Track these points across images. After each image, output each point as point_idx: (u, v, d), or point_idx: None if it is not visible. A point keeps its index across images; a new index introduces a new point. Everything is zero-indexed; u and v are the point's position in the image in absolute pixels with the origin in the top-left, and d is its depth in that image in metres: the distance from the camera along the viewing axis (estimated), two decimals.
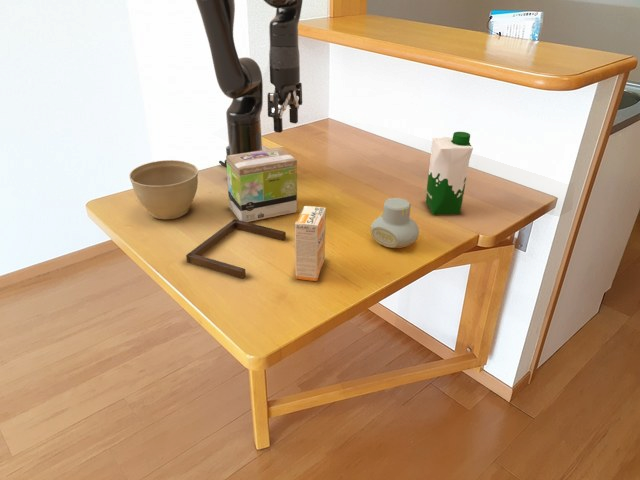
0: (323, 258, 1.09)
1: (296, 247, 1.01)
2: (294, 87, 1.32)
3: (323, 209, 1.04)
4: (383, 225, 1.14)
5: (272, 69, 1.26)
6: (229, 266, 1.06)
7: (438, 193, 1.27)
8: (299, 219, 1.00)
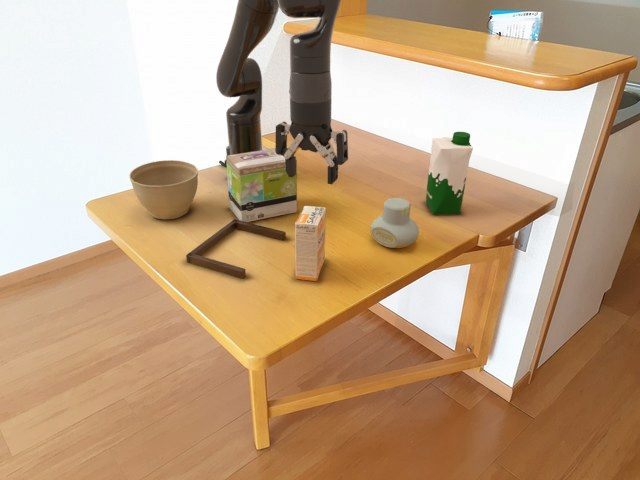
0: (323, 258, 1.09)
1: (296, 247, 1.01)
2: (322, 133, 0.93)
3: (323, 209, 1.04)
4: (383, 225, 1.14)
5: None
6: (229, 266, 1.06)
7: (438, 193, 1.27)
8: (299, 219, 1.00)
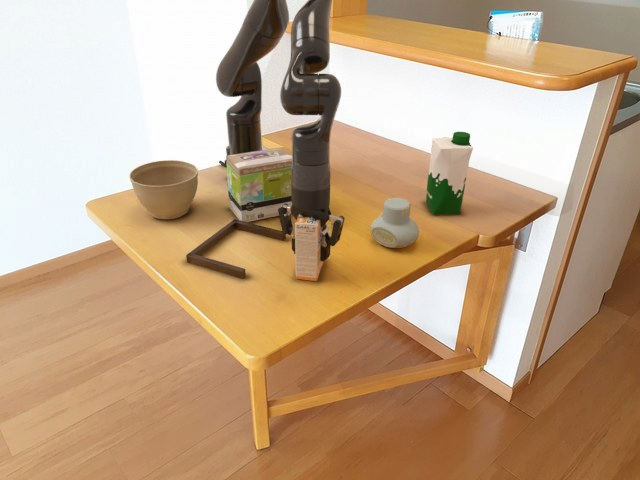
0: None
1: (296, 247, 1.01)
2: (322, 216, 0.99)
3: None
4: (383, 225, 1.14)
5: None
6: (229, 266, 1.06)
7: (438, 193, 1.27)
8: (299, 219, 1.00)
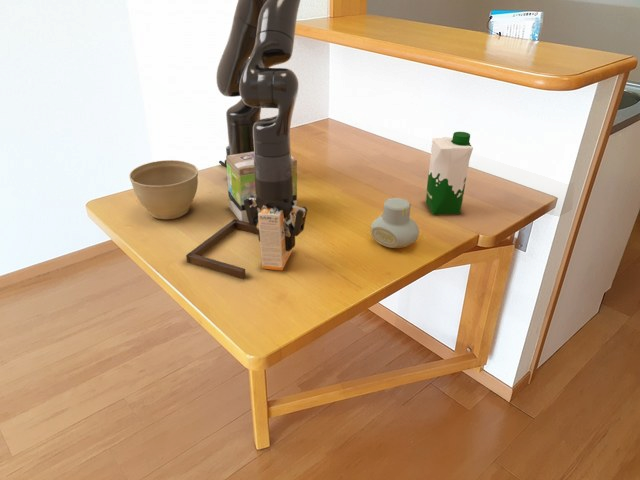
0: None
1: (260, 237, 1.04)
2: (285, 206, 1.02)
3: None
4: (383, 225, 1.14)
5: None
6: (229, 266, 1.06)
7: (438, 193, 1.27)
8: (263, 210, 1.03)
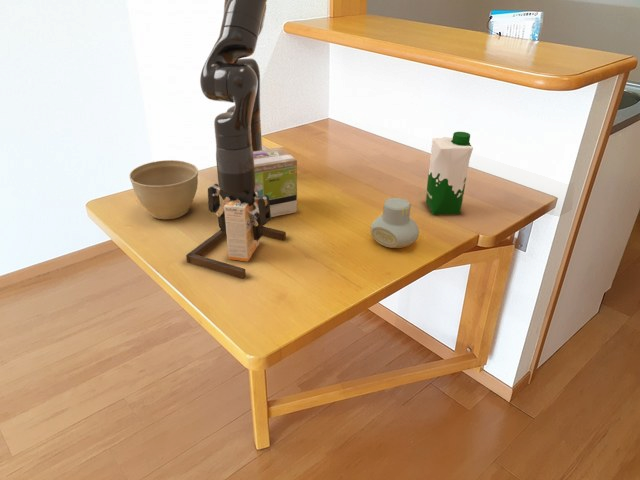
0: None
1: (227, 229, 1.07)
2: (246, 198, 1.05)
3: None
4: (383, 225, 1.14)
5: None
6: (229, 266, 1.06)
7: (438, 193, 1.27)
8: (229, 202, 1.06)
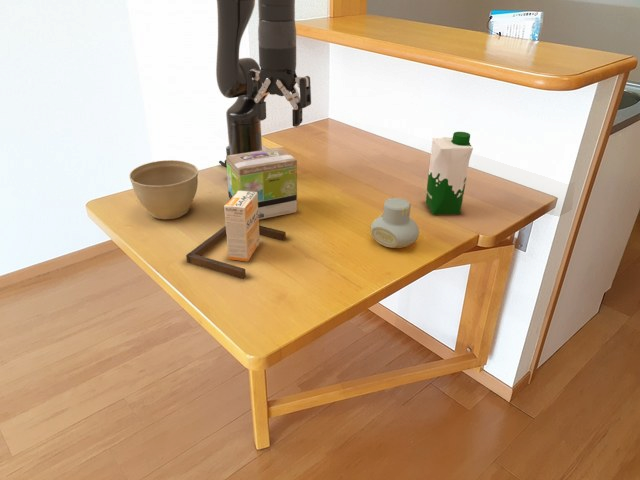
0: (257, 240, 1.15)
1: (227, 229, 1.07)
2: (287, 78, 1.03)
3: (254, 193, 1.10)
4: (383, 225, 1.14)
5: None
6: (229, 266, 1.06)
7: (438, 193, 1.27)
8: (229, 202, 1.06)
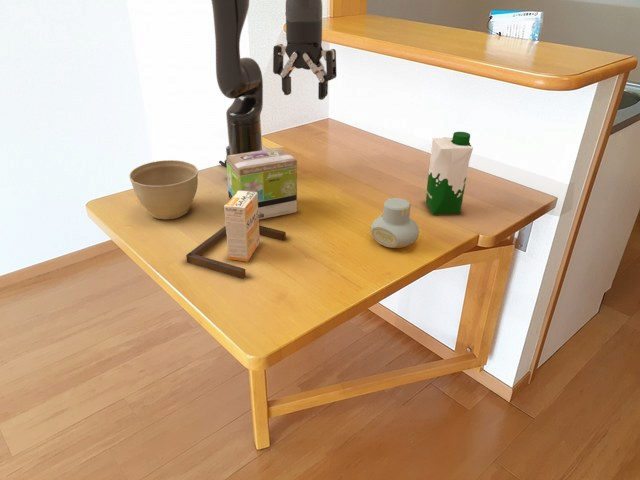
0: (257, 240, 1.15)
1: (227, 229, 1.07)
2: (314, 51, 1.07)
3: (254, 193, 1.10)
4: (383, 225, 1.14)
5: None
6: (229, 266, 1.06)
7: (438, 193, 1.27)
8: (229, 202, 1.06)
